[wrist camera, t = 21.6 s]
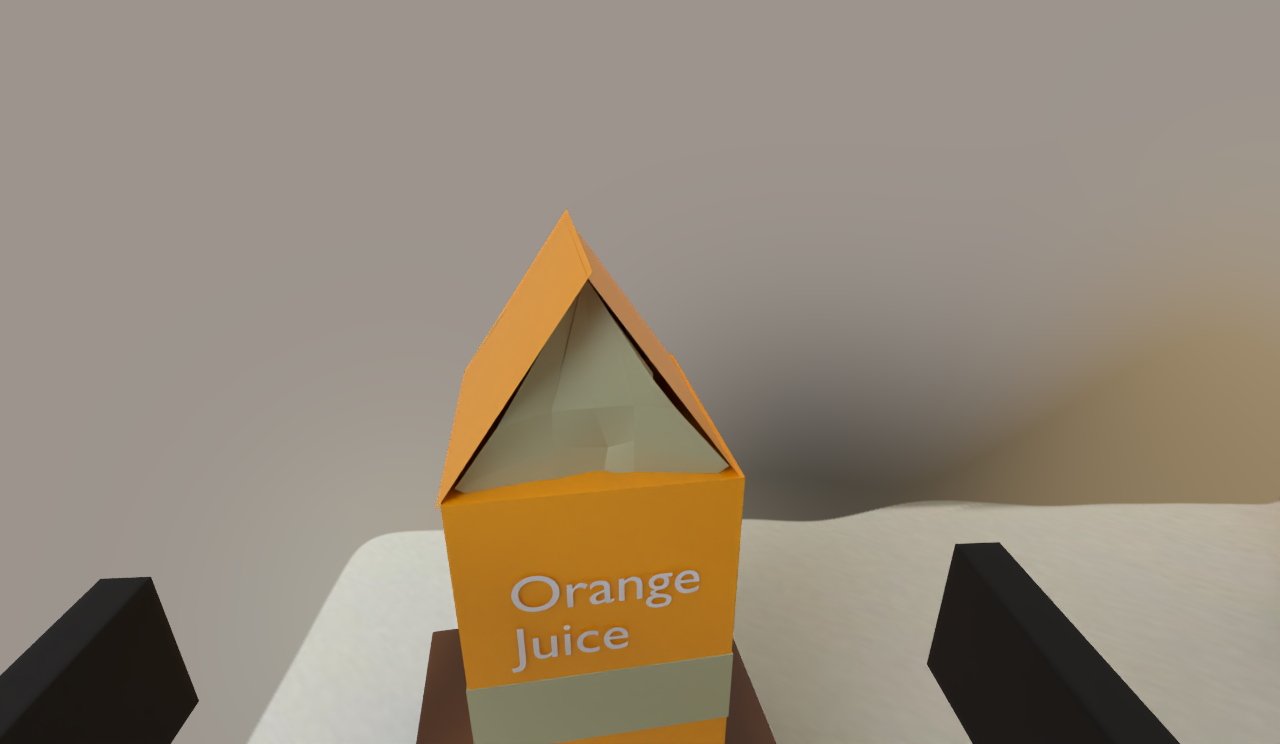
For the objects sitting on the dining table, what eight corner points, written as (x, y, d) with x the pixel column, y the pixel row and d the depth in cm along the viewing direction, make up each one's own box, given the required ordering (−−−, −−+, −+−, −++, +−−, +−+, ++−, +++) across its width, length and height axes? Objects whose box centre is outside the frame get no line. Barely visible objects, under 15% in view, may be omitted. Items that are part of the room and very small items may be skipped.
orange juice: (668, 641, 30) (678, 205, 22) (721, 840, 22) (768, 266, 14) (497, 664, 29) (444, 211, 21) (488, 883, 21) (395, 281, 13)
